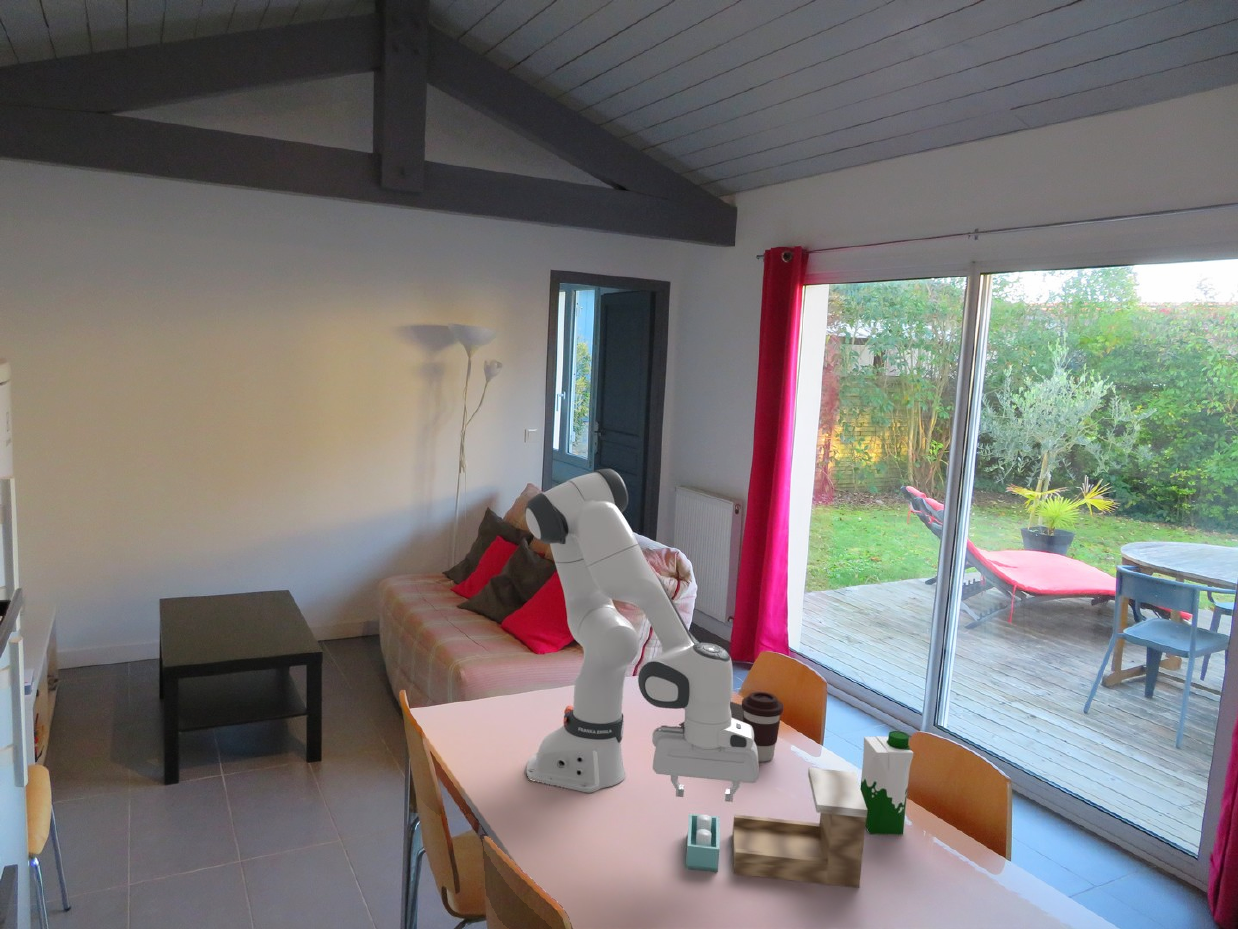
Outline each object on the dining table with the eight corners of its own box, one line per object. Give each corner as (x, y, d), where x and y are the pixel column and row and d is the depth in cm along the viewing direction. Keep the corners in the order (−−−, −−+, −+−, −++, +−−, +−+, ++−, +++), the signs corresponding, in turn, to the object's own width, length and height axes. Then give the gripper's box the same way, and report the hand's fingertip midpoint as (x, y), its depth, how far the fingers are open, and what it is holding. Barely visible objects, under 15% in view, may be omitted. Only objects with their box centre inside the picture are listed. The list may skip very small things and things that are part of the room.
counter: (734, 875, 167) (740, 796, 165) (732, 833, 182) (738, 760, 180) (859, 889, 165) (867, 810, 163) (847, 845, 179) (854, 772, 178)
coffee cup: (778, 767, 212) (783, 707, 210) (736, 761, 214) (741, 701, 212) (779, 750, 222) (784, 692, 220) (739, 744, 224) (743, 686, 222)
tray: (717, 872, 168) (719, 844, 167) (685, 868, 168) (687, 840, 168) (717, 838, 180) (719, 811, 179) (687, 834, 180) (689, 808, 179)
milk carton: (909, 837, 184) (918, 744, 182) (866, 836, 183) (875, 743, 181) (892, 815, 193) (901, 726, 190) (851, 814, 192) (860, 725, 190)
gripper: (651, 731, 168) (648, 800, 170) (761, 741, 166) (757, 811, 168) (654, 718, 175) (652, 785, 176) (760, 727, 172) (756, 795, 174)
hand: (704, 798), depth 172 cm, fingers open, 8 cm apart
